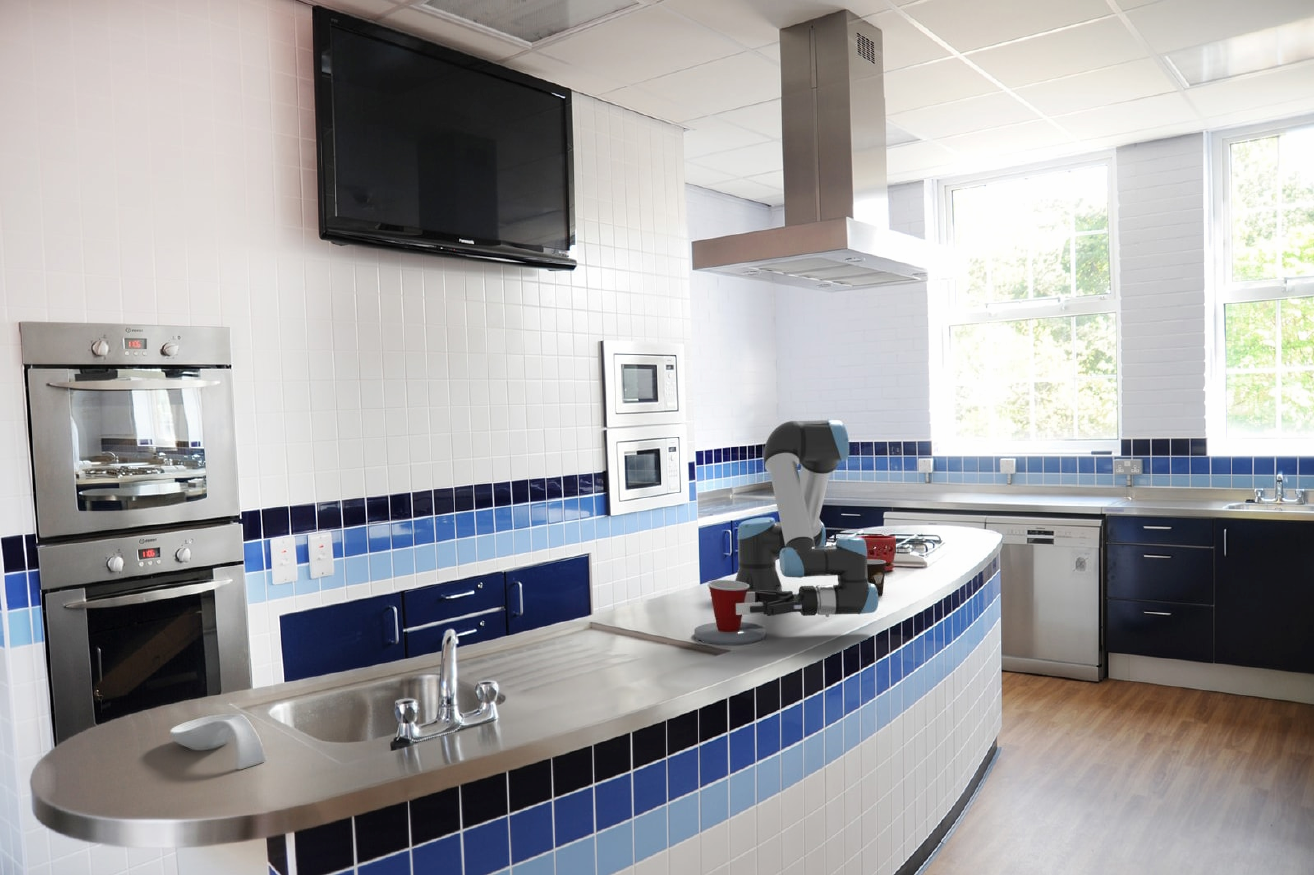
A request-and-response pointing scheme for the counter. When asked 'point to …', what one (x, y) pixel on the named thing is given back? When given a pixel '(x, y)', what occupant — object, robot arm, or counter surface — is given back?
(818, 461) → the robot arm
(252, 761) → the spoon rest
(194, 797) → the counter surface
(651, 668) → the counter surface
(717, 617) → the plastic cup
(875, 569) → the coffee mug
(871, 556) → the plant pot
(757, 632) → the gray round coaster
